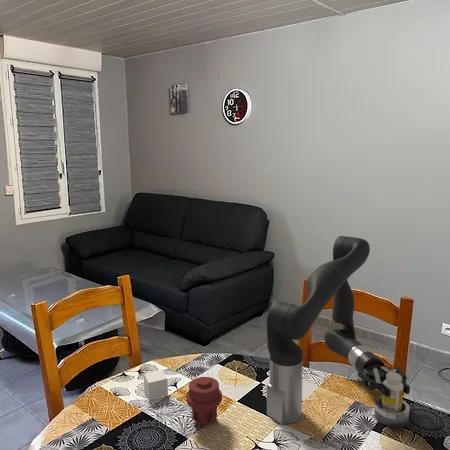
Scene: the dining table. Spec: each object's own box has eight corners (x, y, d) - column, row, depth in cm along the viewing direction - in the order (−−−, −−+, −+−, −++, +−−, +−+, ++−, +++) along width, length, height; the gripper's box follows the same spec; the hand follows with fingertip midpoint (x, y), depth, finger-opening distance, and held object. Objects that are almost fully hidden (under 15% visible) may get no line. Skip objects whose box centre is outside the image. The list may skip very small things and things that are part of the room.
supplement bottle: (387, 413, 116) (389, 381, 114) (378, 401, 121) (380, 371, 119) (405, 412, 116) (408, 380, 115) (396, 400, 122) (398, 370, 120)
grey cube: (149, 401, 129) (148, 383, 128) (144, 391, 134) (143, 373, 133) (168, 396, 131) (167, 378, 130) (162, 386, 137) (162, 369, 136)
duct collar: (397, 432, 113) (398, 418, 112) (368, 416, 120) (368, 403, 119) (414, 419, 118) (415, 406, 118) (385, 404, 125) (386, 391, 125)
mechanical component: (193, 436, 112) (182, 415, 121) (228, 426, 116) (214, 406, 125) (192, 394, 110) (181, 376, 119) (227, 385, 114) (213, 368, 123)
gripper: (344, 353, 129) (376, 383, 113) (386, 348, 132) (422, 376, 116) (343, 376, 131) (374, 408, 114) (385, 370, 134) (420, 401, 117)
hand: (398, 392), depth 115 cm, fingers closed on supplement bottle, 5 cm apart
